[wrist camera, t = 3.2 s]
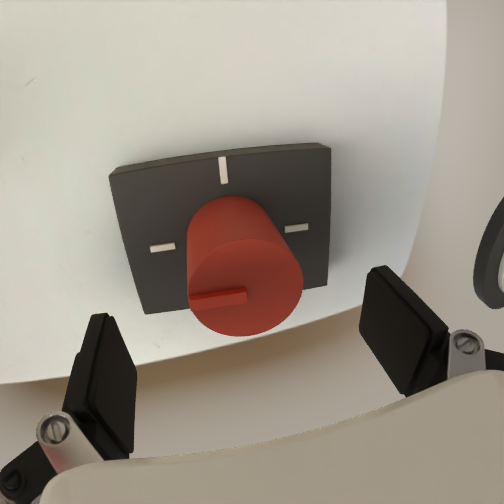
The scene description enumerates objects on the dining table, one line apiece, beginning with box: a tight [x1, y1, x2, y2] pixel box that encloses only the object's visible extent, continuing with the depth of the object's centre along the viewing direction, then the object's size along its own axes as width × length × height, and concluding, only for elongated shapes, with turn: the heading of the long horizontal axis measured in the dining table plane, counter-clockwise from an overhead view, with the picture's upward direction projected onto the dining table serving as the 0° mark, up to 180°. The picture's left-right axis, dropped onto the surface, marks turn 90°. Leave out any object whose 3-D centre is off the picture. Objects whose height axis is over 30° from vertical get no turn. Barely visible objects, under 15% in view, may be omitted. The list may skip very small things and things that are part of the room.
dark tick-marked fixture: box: [109, 143, 331, 314], centre depth 18 cm, size 12×9×2 cm
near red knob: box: [187, 196, 303, 336], centre depth 15 cm, size 5×5×6 cm
